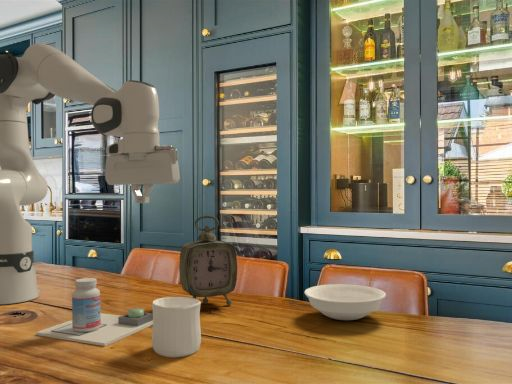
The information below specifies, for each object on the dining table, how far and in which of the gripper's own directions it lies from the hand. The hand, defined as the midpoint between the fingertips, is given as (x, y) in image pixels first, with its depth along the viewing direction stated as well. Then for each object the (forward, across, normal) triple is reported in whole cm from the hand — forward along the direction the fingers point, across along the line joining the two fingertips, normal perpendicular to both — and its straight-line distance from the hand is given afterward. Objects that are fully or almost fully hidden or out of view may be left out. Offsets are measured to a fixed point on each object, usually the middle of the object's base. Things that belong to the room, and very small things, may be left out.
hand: (142, 203), depth 113 cm
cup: (+29, -19, +14) cm, 38 cm away
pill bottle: (+29, +7, +12) cm, 32 cm away
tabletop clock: (+29, -7, -19) cm, 36 cm away
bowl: (+29, -45, -21) cm, 58 cm away
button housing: (+29, 0, +3) cm, 29 cm away
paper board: (+29, +6, +9) cm, 31 cm away
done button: (+28, 0, +3) cm, 28 cm away
